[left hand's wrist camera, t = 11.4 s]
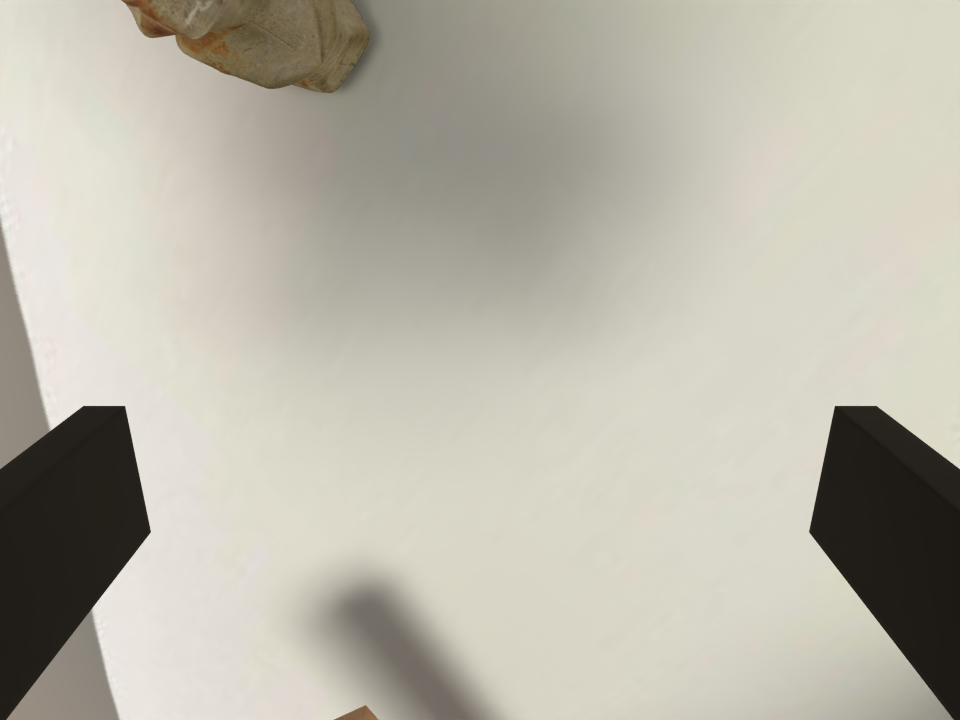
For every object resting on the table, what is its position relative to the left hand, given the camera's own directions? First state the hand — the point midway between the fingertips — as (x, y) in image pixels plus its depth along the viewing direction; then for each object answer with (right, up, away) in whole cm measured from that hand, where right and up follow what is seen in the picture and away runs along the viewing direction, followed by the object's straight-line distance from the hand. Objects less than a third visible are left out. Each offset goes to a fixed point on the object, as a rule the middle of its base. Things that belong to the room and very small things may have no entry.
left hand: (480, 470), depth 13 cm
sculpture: (-9, +18, +20) cm, 28 cm away
